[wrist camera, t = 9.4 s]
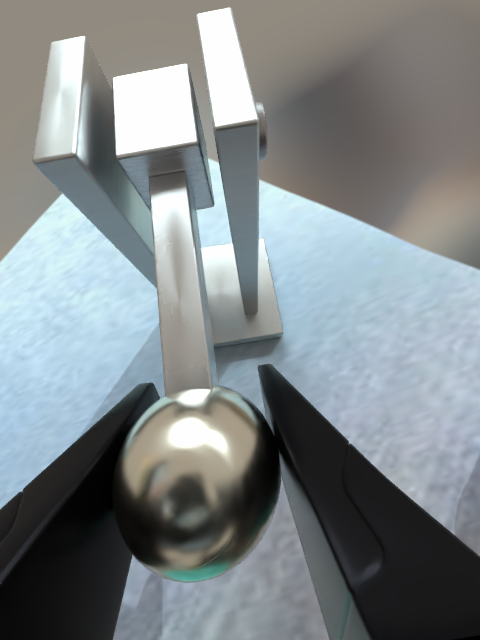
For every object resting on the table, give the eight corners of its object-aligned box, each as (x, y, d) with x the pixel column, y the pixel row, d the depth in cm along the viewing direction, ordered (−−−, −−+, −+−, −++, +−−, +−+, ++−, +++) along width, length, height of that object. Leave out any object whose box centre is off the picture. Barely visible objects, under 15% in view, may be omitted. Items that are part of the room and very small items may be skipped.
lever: (284, 500, 7) (317, 642, 3) (161, 517, 7) (61, 675, 3) (225, 154, 9) (209, 24, 6) (137, 170, 9) (69, 52, 6)
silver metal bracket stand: (282, 336, 18) (357, 172, 4) (177, 353, 18) (-56, 244, 5) (263, 245, 20) (274, -39, 7) (171, 261, 20) (6, 14, 7)
